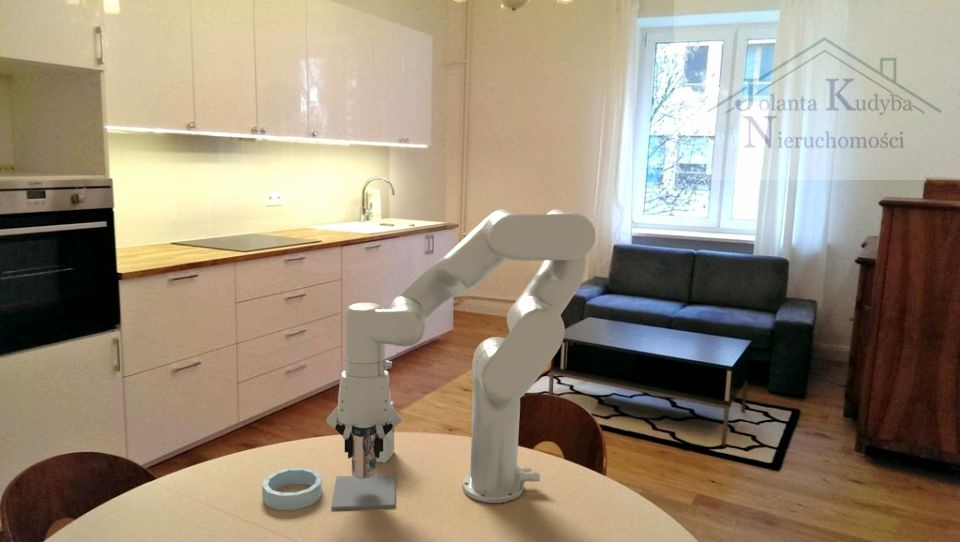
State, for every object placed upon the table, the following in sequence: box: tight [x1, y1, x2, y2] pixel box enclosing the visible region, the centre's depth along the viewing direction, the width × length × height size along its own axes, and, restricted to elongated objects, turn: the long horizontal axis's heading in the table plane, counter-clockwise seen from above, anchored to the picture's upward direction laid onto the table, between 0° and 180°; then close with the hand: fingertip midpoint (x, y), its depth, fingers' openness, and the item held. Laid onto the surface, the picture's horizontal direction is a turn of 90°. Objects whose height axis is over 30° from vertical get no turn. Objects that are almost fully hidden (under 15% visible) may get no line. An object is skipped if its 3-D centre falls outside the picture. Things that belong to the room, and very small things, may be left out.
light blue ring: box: [261, 467, 323, 511], centre depth 130 cm, size 11×11×3 cm
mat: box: [330, 474, 396, 511], centre depth 132 cm, size 12×12×1 cm
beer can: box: [351, 424, 377, 479], centre depth 131 cm, size 5×5×12 cm
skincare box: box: [376, 400, 395, 464], centre depth 147 cm, size 6×4×12 cm
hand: (364, 454), depth 131 cm, fingers closed on beer can, 4 cm apart
